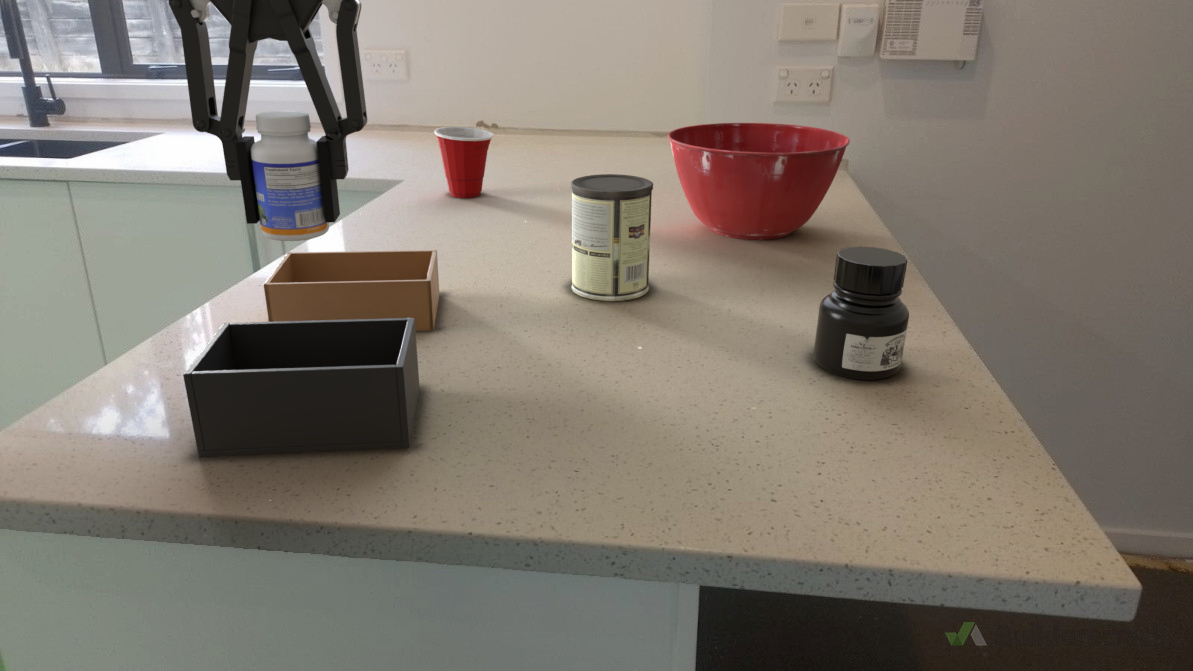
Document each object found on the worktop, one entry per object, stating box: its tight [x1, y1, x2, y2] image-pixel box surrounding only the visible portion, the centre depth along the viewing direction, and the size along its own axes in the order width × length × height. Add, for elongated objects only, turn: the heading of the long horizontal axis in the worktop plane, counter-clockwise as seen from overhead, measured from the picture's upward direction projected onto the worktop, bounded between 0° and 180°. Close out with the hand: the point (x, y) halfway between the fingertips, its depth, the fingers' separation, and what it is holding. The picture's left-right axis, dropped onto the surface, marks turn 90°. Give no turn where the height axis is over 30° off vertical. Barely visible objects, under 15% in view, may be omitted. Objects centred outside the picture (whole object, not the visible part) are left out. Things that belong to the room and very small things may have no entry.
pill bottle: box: [251, 110, 330, 242], centre depth 68 cm, size 5×5×10 cm
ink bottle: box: [813, 245, 910, 381], centre depth 87 cm, size 10×9×12 cm
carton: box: [263, 249, 440, 332], centre depth 99 cm, size 18×12×6 cm, turn 97°
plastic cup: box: [433, 126, 495, 199], centre depth 156 cm, size 11×11×12 cm
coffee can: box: [570, 173, 654, 302], centre depth 108 cm, size 10×10×14 cm
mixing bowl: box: [667, 122, 851, 241], centre depth 136 cm, size 28×28×15 cm
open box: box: [182, 318, 421, 458], centre depth 74 cm, size 17×11×8 cm, turn 97°
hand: (294, 218), depth 69 cm, fingers closed on pill bottle, 5 cm apart
